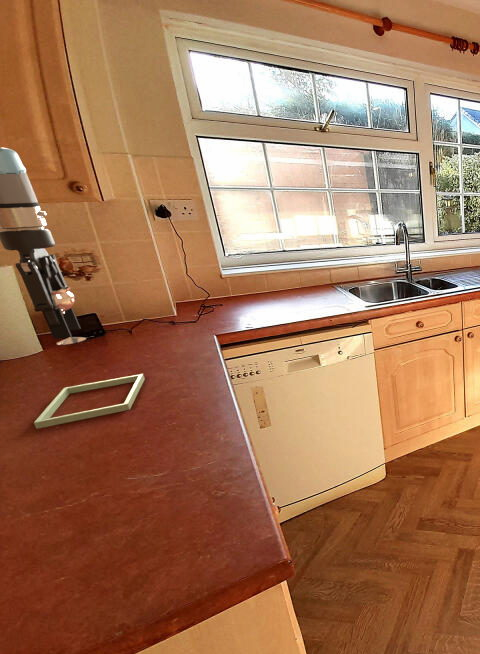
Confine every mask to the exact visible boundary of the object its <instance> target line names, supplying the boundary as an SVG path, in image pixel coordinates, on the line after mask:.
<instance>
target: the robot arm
mask: <svg viewBox="0 0 480 654" xmlns="http://www.w3.org/2000/svg"><path fill="white" fill-rule="evenodd" d="M46 216H47V213H46V211H44V210H43V211H42V209H41V206H40V204H39V201H38V198H37V196H36V193H35V191H34V187H33V185H32V183H31V181H30V178H29V175H28V173H27V169H26V166H24V164H23V162H22V160H21V157H20V155H19V154H18V153H17V151H15V150H14V149H11V148H8V147H0V243H1V245H2V247H3V249H4V250H7V251H17V252H18V255H19V262H16V263H15V265H14V266H15V267H16V269H17V271H18V274H20V276H21V279H22V281H23V283H24V286H25V288H26V290H27V291H26V292H27V293H28V295H29V297H30V301H31V300H32V302H31V304H32V306H33V310H34V312H35V313H39V312H41V313H42V315H43V317H44V320H45V321H46V324H47V326H48V328H49V330H50V333H51V336H52V338H53V340H61V339H67V338H69V337H73V335H72V333H71V331H75V330H76V331H77V330H80V329H81V325H80V323H79V320H78V318H77V315H76V314H75V313H76V312H75V311H74V309H73V306H72V307H71V308H70V309H68V310H67V311H65V313H64V314H62V312H61V310H60V308H58V309H57V305H56V302H55V299H54V295H53V293H52V291H58V290H60V289H62V288H61V287H68V284H67V282H66V280H65V278H64V276H63V274H62V271H61V269H60V267H59V264H58V261H57V257H56V255H55V254H49V253H48V251H47V249H48V248H52V247H55V246H56V242H55V239H54V237H53V235H52V232H51V230H49V229H48V228H45V227H47V226H48V224H47V221H46V218H45V217H46ZM43 303H46V304H43ZM63 316H64V317H63Z"/></svg>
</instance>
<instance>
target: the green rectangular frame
mask: <svg viewBox="0 0 480 654" xmlns="http://www.w3.org/2000/svg"><path fill="white" fill-rule="evenodd" d="M145 380H146V378H145V376H144V373H140V374H135V375H129V376H123V377H118V378H111V379H107V380H101V381H100V380H99V381H94V382H89V383H82V384H78V385H77V384H76V385H73V386H67V387H63V388H62V390H60V392H59V393H58V394H57V395H56V397H54V398H53V399H52V401H51V402H50V403H49V404H48V405H47V406H46V408H45V409H44V410H43V411H42V413H40V415H39V416H38V417H37V418H36V419H35V421H34V422H33V424H34V427H35V429H37V430H38V429H42V428H47V427H52V426H57V425H61V424H67V423H72V422H75V421H81V420H86V419H90V418H91V419H92V418H96V417H100V416H106V415H111V414H114V413H119V412H125V411H130V410H131V408H132V406H133V404H134V402H135V400H136V398H137V396H138V394H139V392H140V389H141V388H142V386H143V383H144V382H145ZM129 383H134V384H133V385H132V387H131V389H130V391H129V393H128V394H127V397H126V398H125V400H124V402H123V403H119V404H115V405H109V406H104V407H100V408H99V407H98V408H95V409H90V410H84V411H80V412H75V413H69V414H64V415H59V416H54V417H52V416H53V414H54V413H55V412H56V411H57V410H58V408H60V406H61V405H62V404H63V402H64V401H65V400H66V399H67V397H69V395H70V394H75V393H81V392H85V391H91V390H92V391H93V390H98V389H103V388H108V387H114V386H118V385H119V386H120V385H125V384H129Z"/></svg>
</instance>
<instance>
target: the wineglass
mask: <svg viewBox="0 0 480 654" xmlns="http://www.w3.org/2000/svg"><path fill="white" fill-rule="evenodd" d="M61 288H62V289H60V290H58V291H52V293H53V295H54V299H55V302H56V305H57V309H58V308H60V310H61V312H62V314H64V313H65V311H67V310H68V309H70V308H71V307H72V308H73V306H74V305H75V303H76V295H74V293H73V292H71V288H72V287H71V286H67V287H61ZM30 302H31V303H32V300H31V299H30ZM43 304H46V303H43ZM63 317H64V316H63ZM86 340H87V337H82V336H72V337H68V338H63V339H62V340H60V341H57V342H56V343H55V344H56V345H58V346H62V345H63V346H65V345H72V344H76V343H80V342H83V341H86Z"/></svg>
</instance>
